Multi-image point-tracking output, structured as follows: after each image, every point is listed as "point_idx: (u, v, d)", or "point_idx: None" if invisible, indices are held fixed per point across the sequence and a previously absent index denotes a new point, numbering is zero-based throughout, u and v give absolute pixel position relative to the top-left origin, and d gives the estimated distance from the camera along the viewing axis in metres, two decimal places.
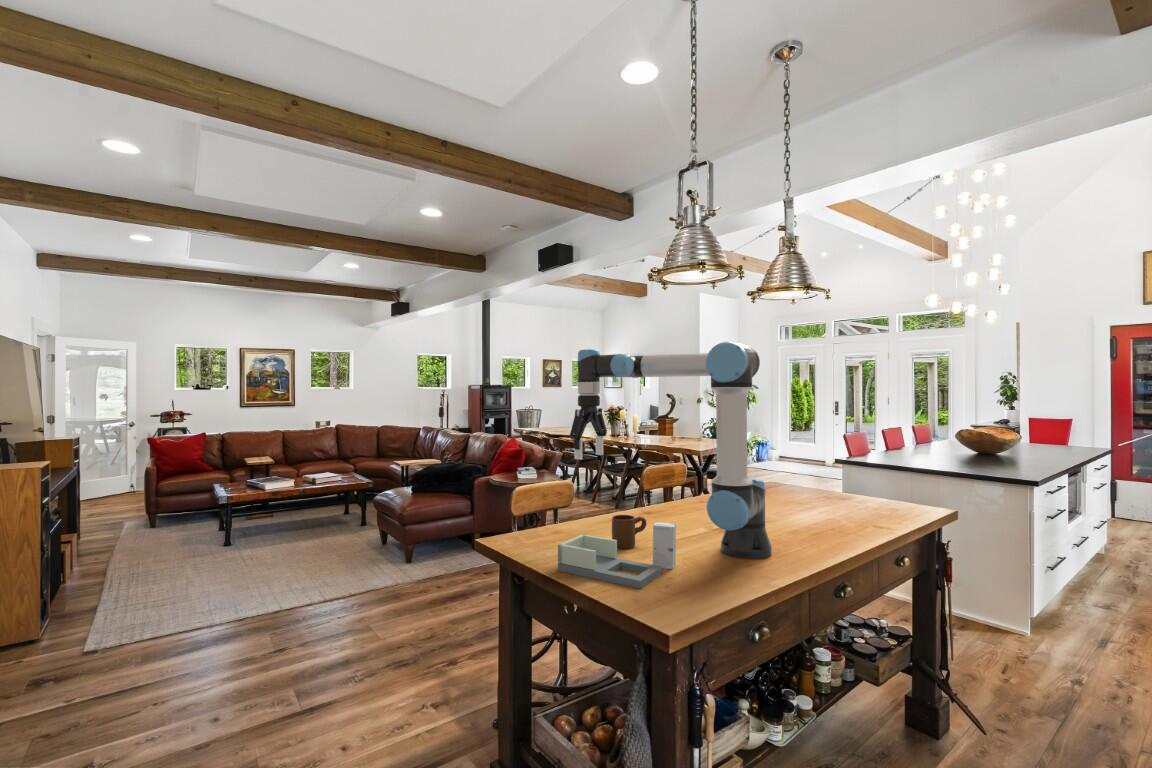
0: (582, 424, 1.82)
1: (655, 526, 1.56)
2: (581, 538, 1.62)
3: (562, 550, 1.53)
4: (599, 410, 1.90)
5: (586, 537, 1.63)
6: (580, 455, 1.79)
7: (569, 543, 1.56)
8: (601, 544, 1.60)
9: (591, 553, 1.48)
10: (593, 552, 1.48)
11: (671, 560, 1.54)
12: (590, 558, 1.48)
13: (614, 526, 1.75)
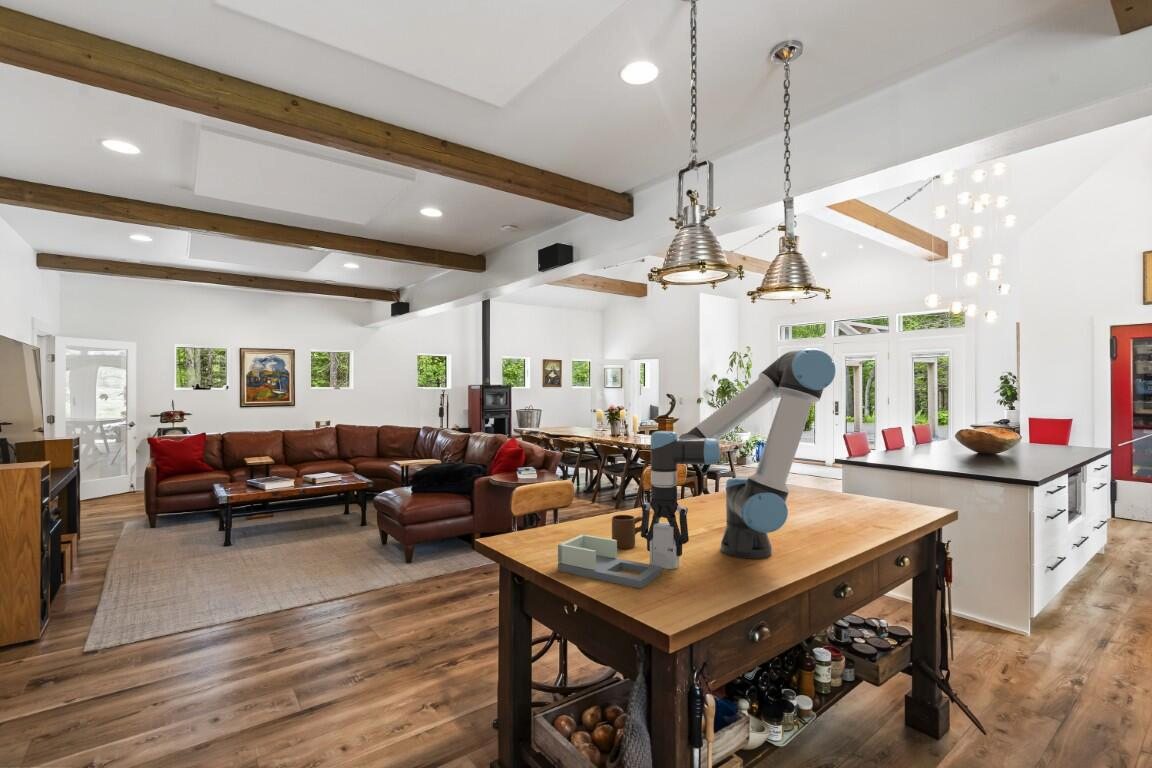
0: None
1: (655, 526, 1.56)
2: (581, 538, 1.62)
3: (562, 550, 1.53)
4: (681, 510, 1.54)
5: (586, 537, 1.63)
6: None
7: (569, 543, 1.56)
8: (601, 544, 1.60)
9: (591, 553, 1.48)
10: (593, 552, 1.48)
11: (671, 560, 1.54)
12: (590, 558, 1.48)
13: (614, 526, 1.75)
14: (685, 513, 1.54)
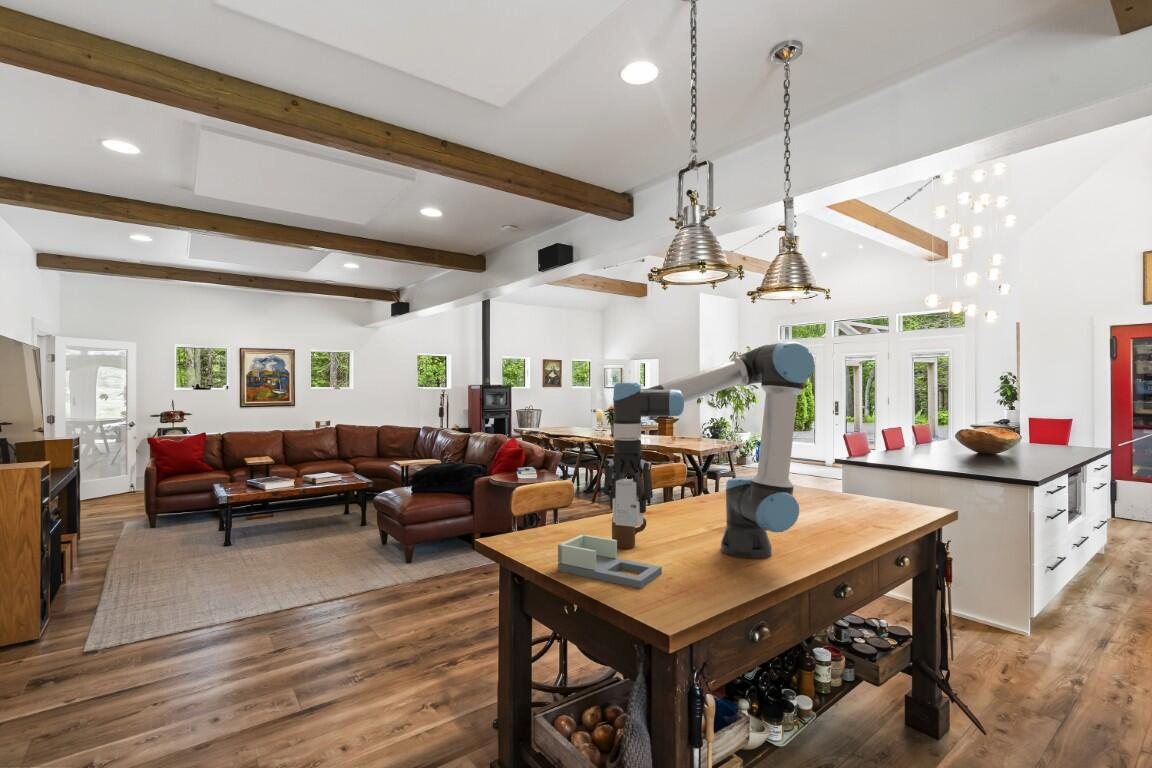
0: None
1: (617, 482, 1.48)
2: (581, 538, 1.62)
3: (562, 550, 1.53)
4: None
5: (586, 537, 1.63)
6: None
7: (569, 543, 1.56)
8: (601, 544, 1.60)
9: (591, 553, 1.48)
10: (593, 552, 1.48)
11: (634, 517, 1.46)
12: (590, 558, 1.48)
13: (614, 526, 1.75)
14: (649, 467, 1.46)
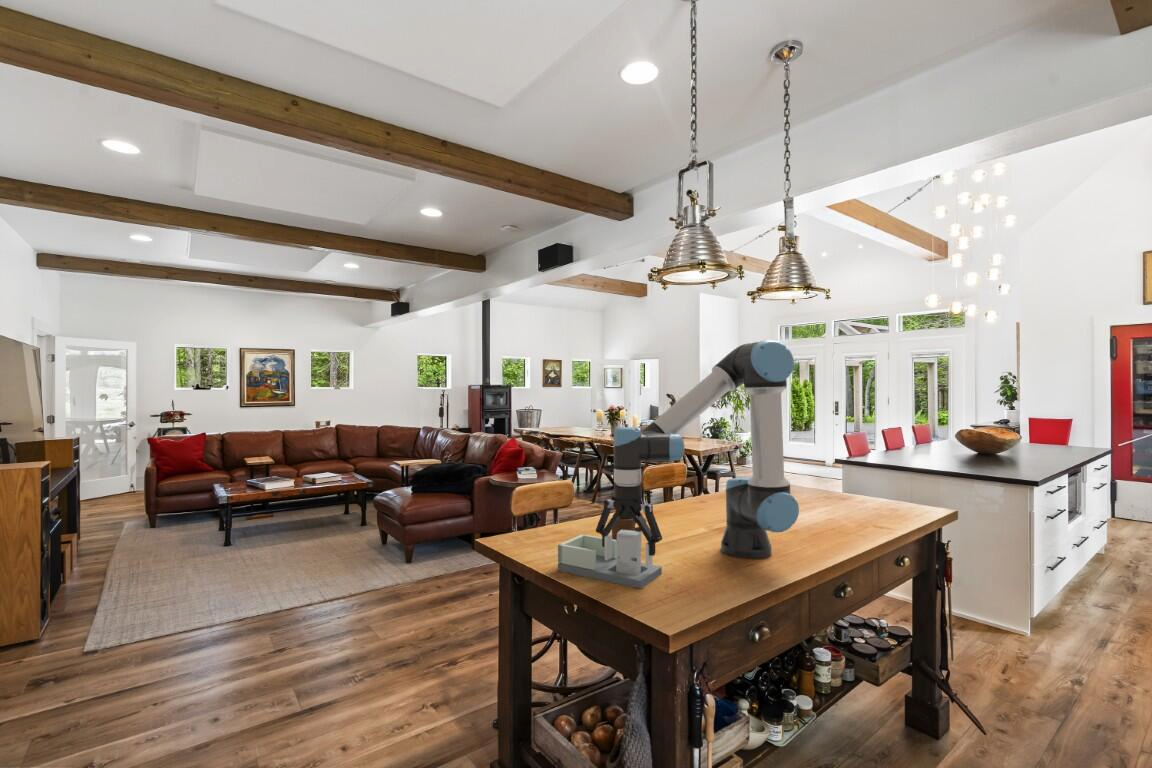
0: None
1: (619, 534, 1.48)
2: (581, 538, 1.62)
3: (562, 550, 1.53)
4: None
5: (586, 537, 1.63)
6: None
7: (569, 543, 1.56)
8: (601, 544, 1.60)
9: (591, 553, 1.48)
10: (593, 552, 1.48)
11: (635, 570, 1.46)
12: (590, 558, 1.48)
13: (614, 526, 1.75)
14: (650, 509, 1.45)
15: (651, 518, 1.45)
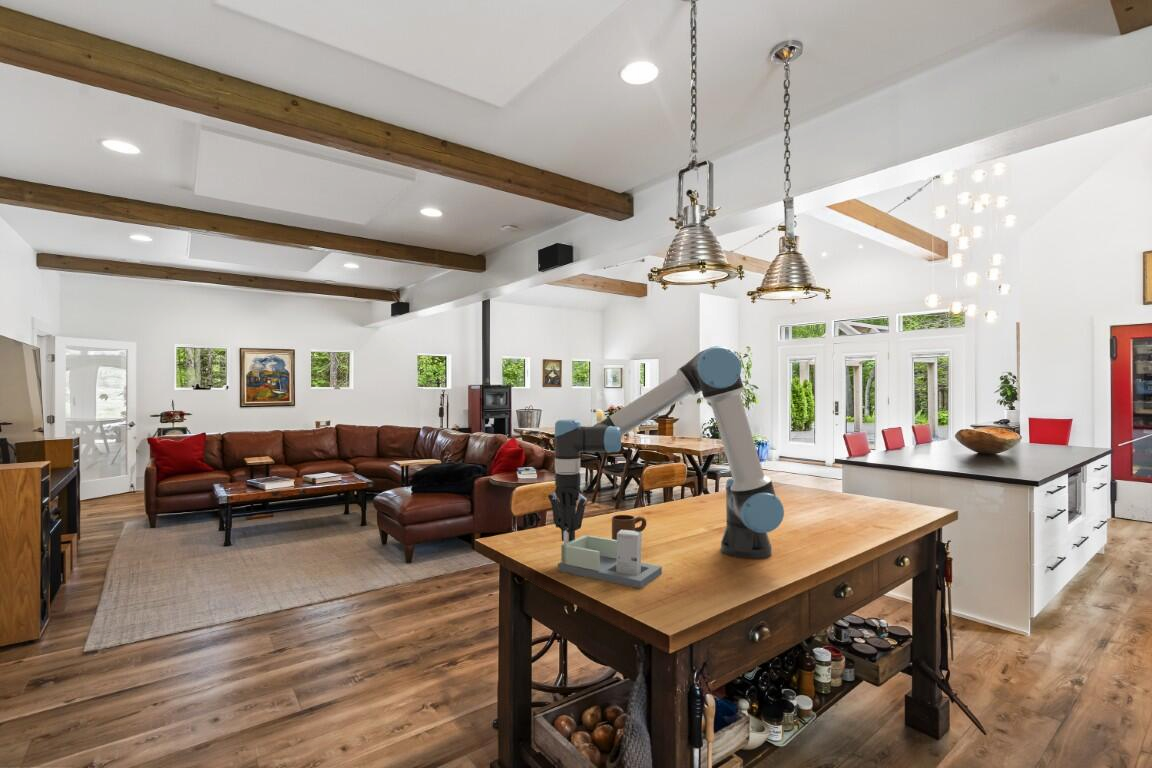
0: None
1: (619, 534, 1.48)
2: (584, 539, 1.61)
3: (565, 551, 1.53)
4: (581, 499, 1.56)
5: (589, 538, 1.62)
6: None
7: (573, 544, 1.56)
8: (605, 545, 1.59)
9: (595, 553, 1.47)
10: (597, 553, 1.47)
11: (635, 570, 1.46)
12: (594, 559, 1.47)
13: (614, 526, 1.75)
14: (584, 503, 1.57)
15: (581, 510, 1.57)
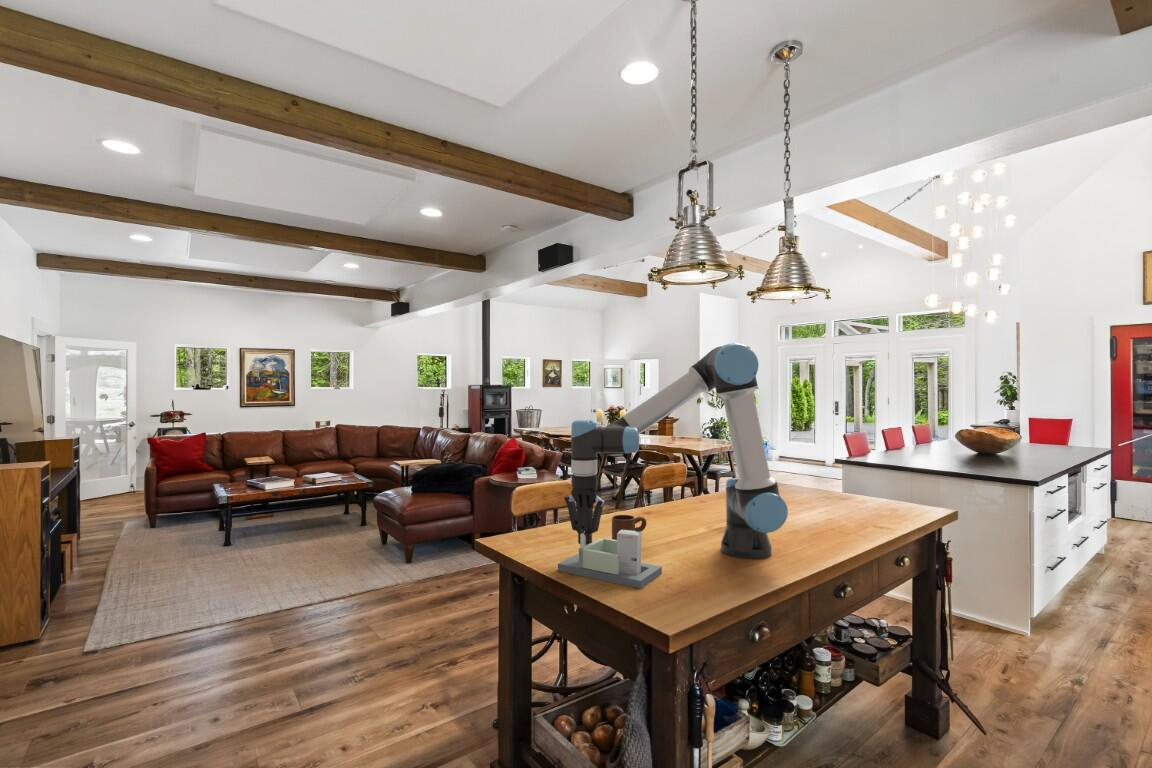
0: None
1: (619, 534, 1.48)
2: (601, 542, 1.58)
3: (583, 554, 1.49)
4: None
5: (606, 540, 1.59)
6: None
7: (590, 547, 1.53)
8: None
9: (614, 557, 1.44)
10: (616, 556, 1.44)
11: (635, 570, 1.46)
12: (613, 562, 1.44)
13: (614, 526, 1.75)
14: (602, 505, 1.54)
15: (598, 512, 1.53)
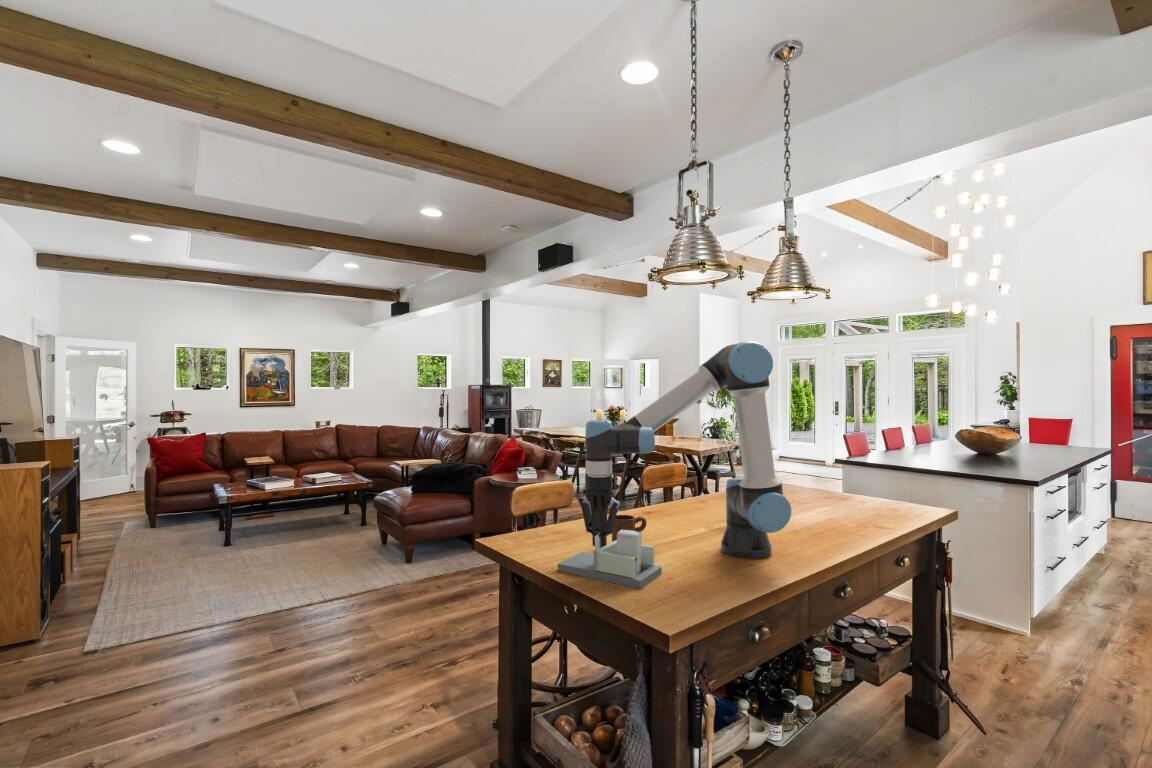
0: None
1: (619, 534, 1.48)
2: (616, 544, 1.55)
3: (598, 557, 1.47)
4: (613, 503, 1.51)
5: None
6: None
7: (605, 549, 1.50)
8: None
9: (630, 560, 1.41)
10: (632, 559, 1.41)
11: (635, 570, 1.46)
12: (629, 566, 1.42)
13: (614, 526, 1.75)
14: (617, 507, 1.51)
15: (613, 514, 1.51)
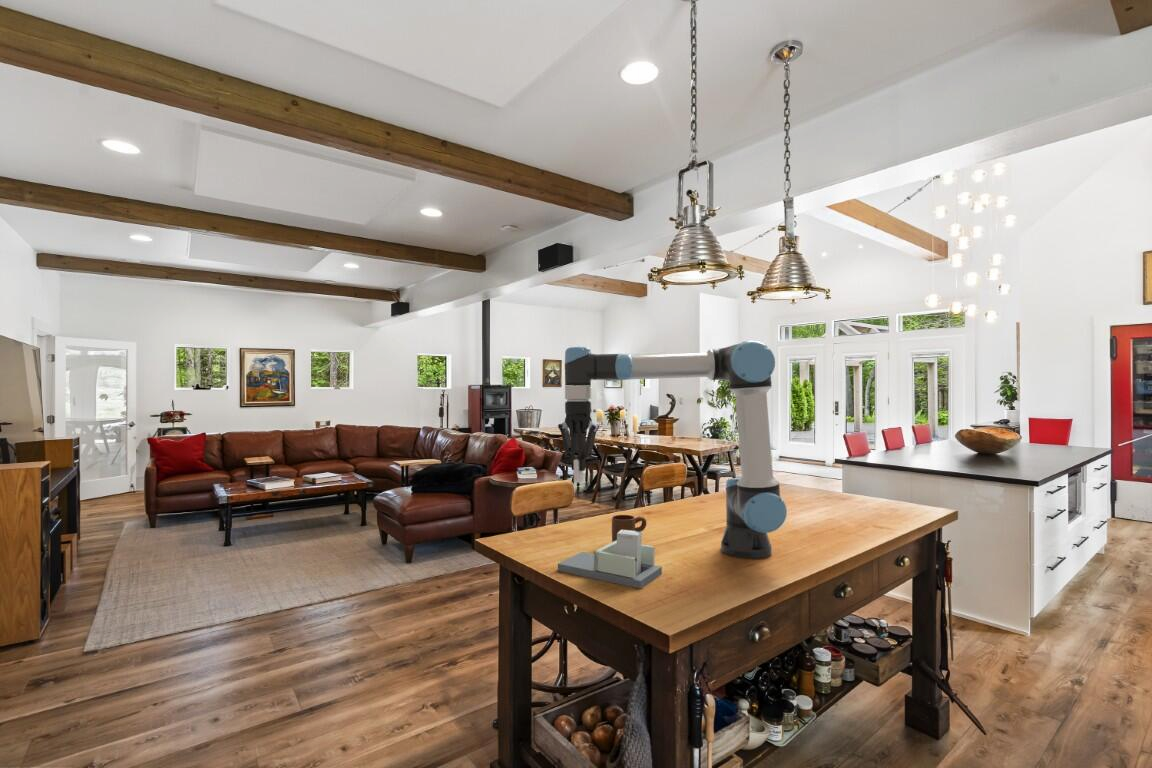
0: None
1: (619, 534, 1.48)
2: (616, 544, 1.55)
3: (598, 557, 1.47)
4: None
5: None
6: None
7: (605, 550, 1.50)
8: None
9: (630, 560, 1.41)
10: (632, 559, 1.41)
11: (635, 570, 1.46)
12: (629, 566, 1.42)
13: (614, 526, 1.75)
14: (595, 430, 1.55)
15: (591, 437, 1.55)
